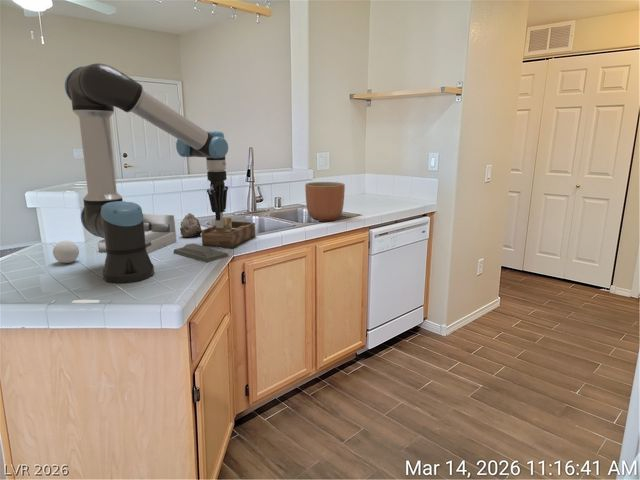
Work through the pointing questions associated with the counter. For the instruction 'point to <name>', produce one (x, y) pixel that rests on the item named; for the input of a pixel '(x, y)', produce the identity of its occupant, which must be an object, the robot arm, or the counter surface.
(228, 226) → the block
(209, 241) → the trap box
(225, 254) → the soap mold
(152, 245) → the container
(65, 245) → the ball
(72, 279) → the counter surface
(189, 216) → the rock
